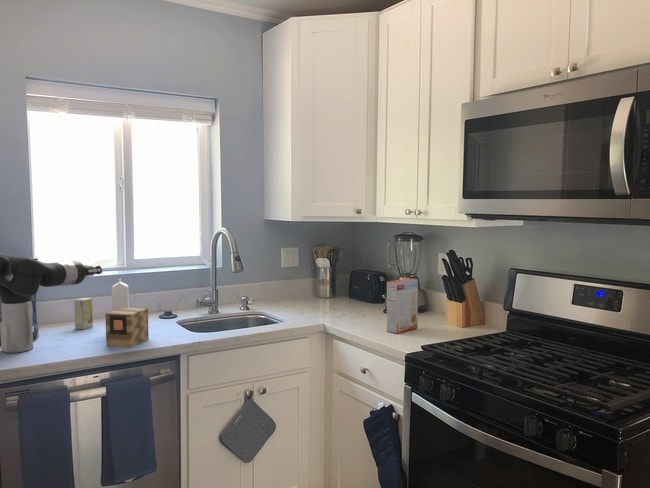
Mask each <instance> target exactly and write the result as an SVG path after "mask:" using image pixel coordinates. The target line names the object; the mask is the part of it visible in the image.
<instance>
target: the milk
mask: <svg viewBox="0 0 650 488" xmlns="http://www.w3.org/2000/svg"><path fill="white" fill-rule="evenodd" d="M121 280H122V279H121V277H120V278H119V281H118V282H117V283H115V284H113V285H112V286H111V312H112V311H115V310H118V309H121V308H124V307H127V308H130V297H129V295H130V291H129V284H127V283H125V282H123V281H121Z"/></svg>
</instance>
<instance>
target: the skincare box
mask: <svg viewBox="0 0 650 488" xmlns="http://www.w3.org/2000/svg"><path fill="white" fill-rule="evenodd" d="M93 320H94V319H93V298H92V297H82V298H77V299H74V329H75V330H76V329H77V330H85V329H88V328H92V327H93V326H94V325H93V324H94V323H93Z"/></svg>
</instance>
